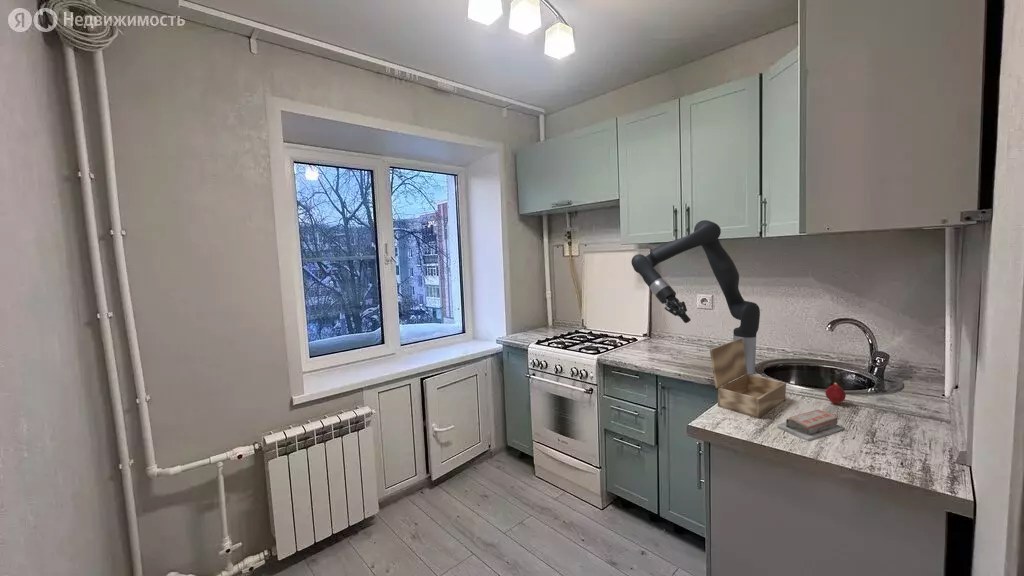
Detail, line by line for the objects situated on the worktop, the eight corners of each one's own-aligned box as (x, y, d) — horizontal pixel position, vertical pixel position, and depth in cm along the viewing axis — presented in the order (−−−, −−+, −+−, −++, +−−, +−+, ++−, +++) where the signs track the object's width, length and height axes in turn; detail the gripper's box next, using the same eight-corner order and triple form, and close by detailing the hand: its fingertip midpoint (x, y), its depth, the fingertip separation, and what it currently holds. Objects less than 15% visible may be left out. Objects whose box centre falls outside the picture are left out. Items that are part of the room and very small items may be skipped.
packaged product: (812, 405, 139) (845, 416, 130) (812, 419, 139) (844, 431, 130) (777, 415, 132) (808, 427, 123) (776, 429, 133) (808, 442, 124)
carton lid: (717, 388, 150) (715, 387, 151) (747, 373, 165) (745, 373, 166) (711, 349, 150) (709, 349, 151) (742, 338, 165) (739, 338, 166)
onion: (849, 406, 148) (850, 384, 147) (835, 407, 147) (837, 386, 146) (834, 400, 154) (835, 379, 153) (821, 401, 153) (822, 381, 152)
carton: (717, 406, 151) (718, 388, 150) (746, 390, 165) (746, 374, 165) (758, 418, 140) (759, 399, 139) (785, 400, 154) (786, 383, 153)
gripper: (659, 286, 172) (685, 318, 164) (676, 283, 180) (702, 314, 172) (648, 297, 177) (673, 329, 168) (665, 294, 185) (690, 324, 176)
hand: (688, 321), depth 170 cm, fingers closed
